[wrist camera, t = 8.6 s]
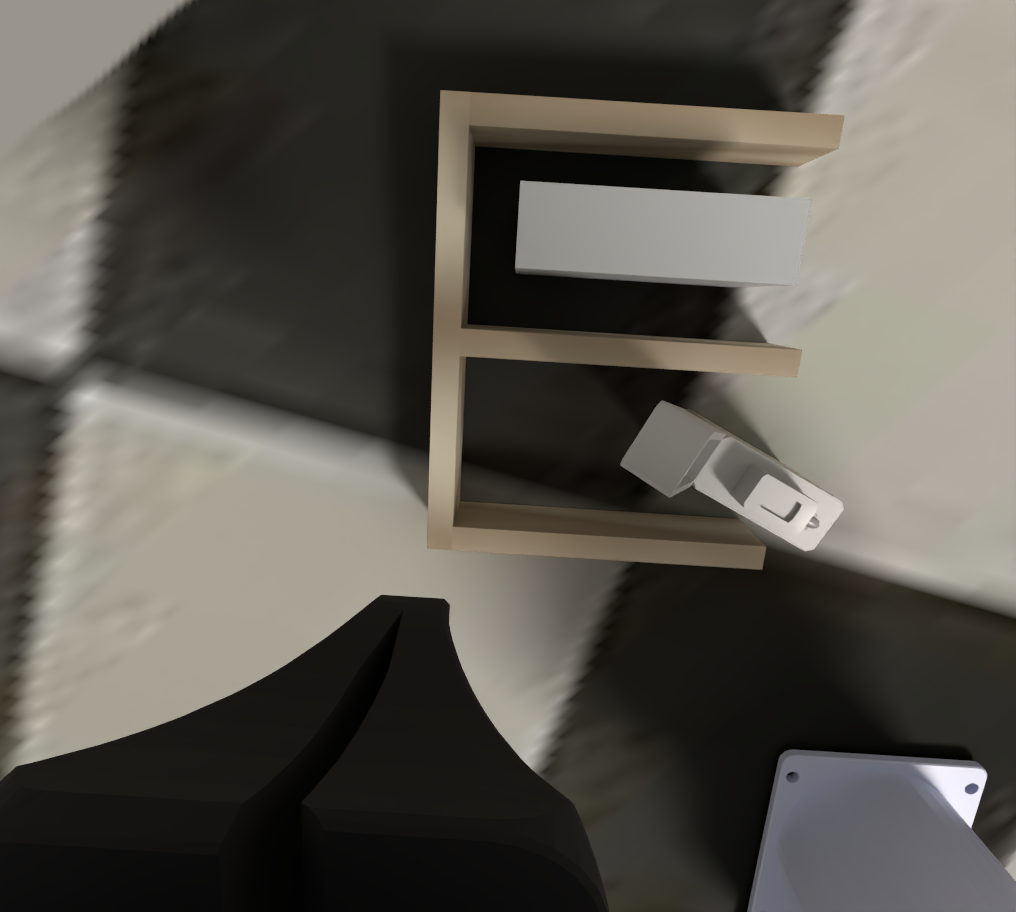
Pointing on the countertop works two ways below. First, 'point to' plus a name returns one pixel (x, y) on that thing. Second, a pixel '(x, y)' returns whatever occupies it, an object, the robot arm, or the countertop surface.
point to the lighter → (729, 475)
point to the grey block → (659, 235)
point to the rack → (453, 338)
